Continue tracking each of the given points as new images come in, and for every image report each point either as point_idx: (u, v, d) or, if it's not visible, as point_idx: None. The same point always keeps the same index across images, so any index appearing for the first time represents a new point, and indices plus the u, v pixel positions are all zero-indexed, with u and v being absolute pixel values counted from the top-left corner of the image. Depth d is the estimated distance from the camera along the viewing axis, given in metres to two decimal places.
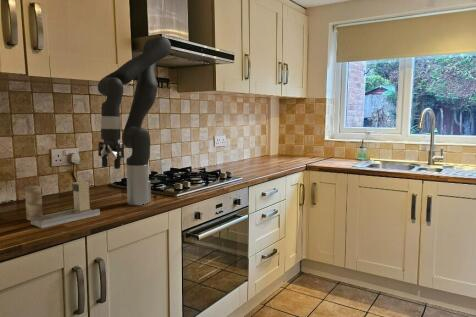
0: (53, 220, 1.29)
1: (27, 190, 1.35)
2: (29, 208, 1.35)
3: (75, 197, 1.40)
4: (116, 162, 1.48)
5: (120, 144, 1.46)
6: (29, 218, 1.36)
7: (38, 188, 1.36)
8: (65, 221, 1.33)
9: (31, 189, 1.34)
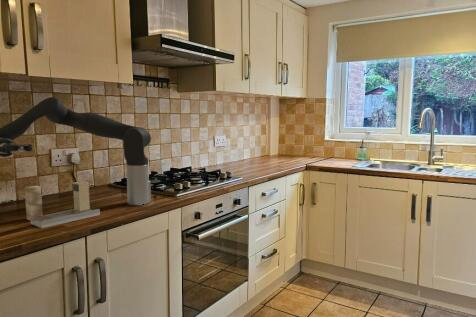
0: (53, 220, 1.29)
1: (27, 190, 1.35)
2: (29, 208, 1.35)
3: (75, 197, 1.40)
4: (1, 151, 1.39)
5: None
6: (29, 218, 1.36)
7: (38, 188, 1.36)
8: (65, 221, 1.33)
9: (31, 189, 1.34)
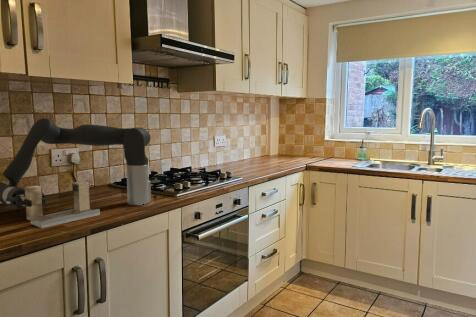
0: (53, 220, 1.29)
1: (27, 190, 1.35)
2: (29, 208, 1.35)
3: (75, 197, 1.40)
4: None
5: (6, 202, 1.36)
6: (29, 218, 1.36)
7: (38, 188, 1.36)
8: (65, 221, 1.33)
9: (31, 189, 1.34)
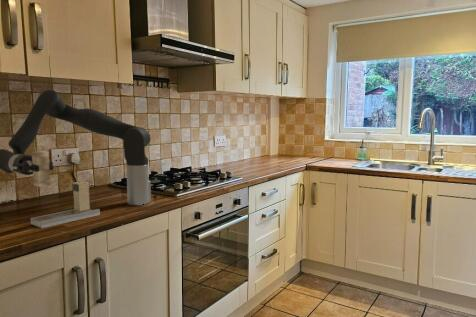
0: (53, 220, 1.29)
1: (34, 155, 1.30)
2: (36, 173, 1.30)
3: (75, 197, 1.40)
4: (33, 170, 1.30)
5: (13, 168, 1.31)
6: (36, 184, 1.31)
7: (45, 153, 1.31)
8: (65, 221, 1.33)
9: (38, 153, 1.29)
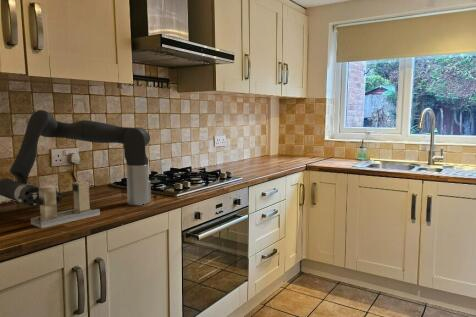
0: (53, 220, 1.29)
1: (41, 190, 1.29)
2: (43, 209, 1.29)
3: (75, 197, 1.40)
4: (37, 203, 1.28)
5: (18, 200, 1.30)
6: (43, 219, 1.30)
7: (52, 188, 1.30)
8: (65, 221, 1.33)
9: (45, 189, 1.28)
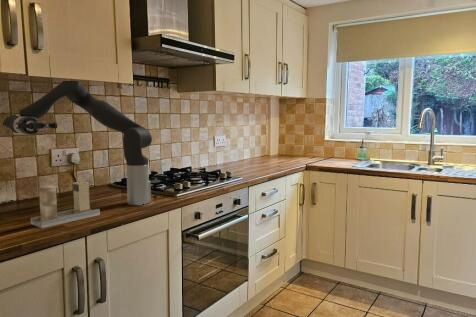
0: (53, 220, 1.29)
1: (41, 190, 1.29)
2: (43, 209, 1.29)
3: (75, 197, 1.40)
4: (29, 127, 1.45)
5: (16, 126, 1.48)
6: (43, 219, 1.30)
7: (53, 188, 1.30)
8: (65, 221, 1.33)
9: (46, 189, 1.28)
